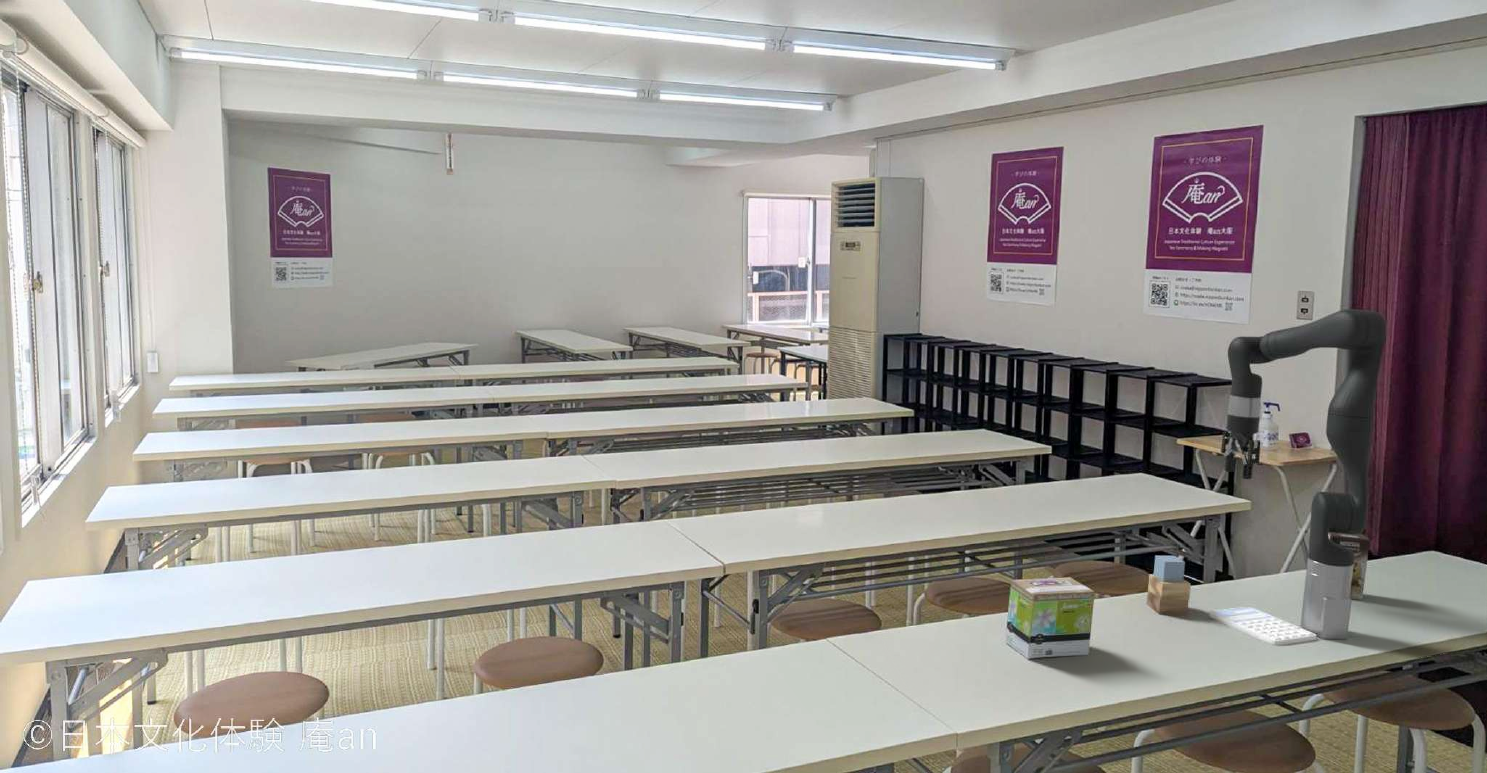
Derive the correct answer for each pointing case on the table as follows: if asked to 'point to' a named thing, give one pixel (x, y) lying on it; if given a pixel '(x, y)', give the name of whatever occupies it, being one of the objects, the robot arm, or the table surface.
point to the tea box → (1049, 617)
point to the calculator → (1262, 626)
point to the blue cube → (1169, 568)
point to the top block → (1169, 589)
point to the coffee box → (1355, 559)
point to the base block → (1167, 605)
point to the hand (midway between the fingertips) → (1237, 475)
